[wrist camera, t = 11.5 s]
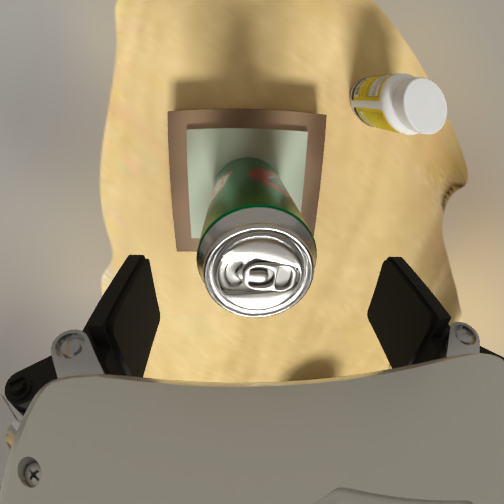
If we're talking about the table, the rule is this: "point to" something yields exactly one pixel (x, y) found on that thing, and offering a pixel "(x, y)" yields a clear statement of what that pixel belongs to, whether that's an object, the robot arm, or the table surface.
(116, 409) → the robot arm
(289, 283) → the soda can
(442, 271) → the table surface
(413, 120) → the supplement bottle
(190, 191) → the walnut picture frame
